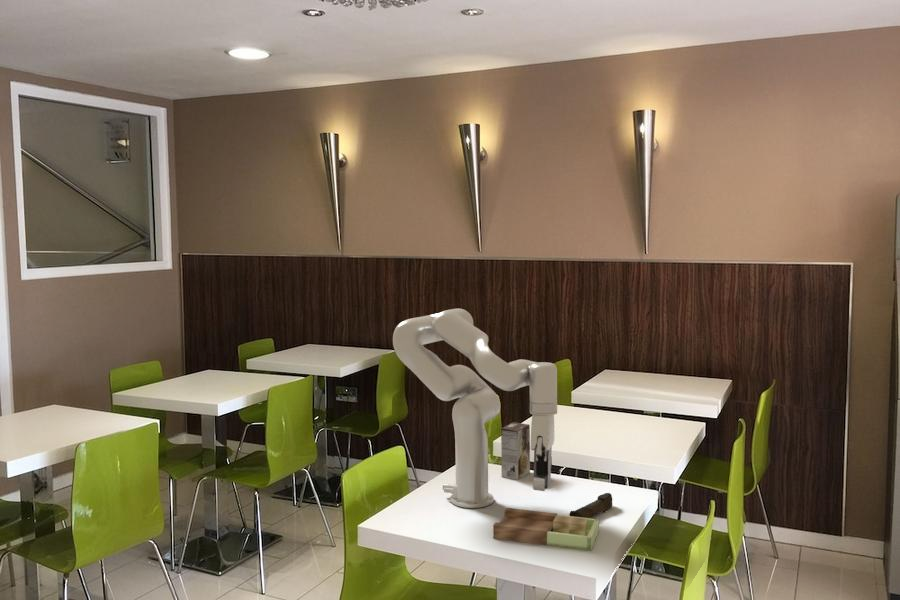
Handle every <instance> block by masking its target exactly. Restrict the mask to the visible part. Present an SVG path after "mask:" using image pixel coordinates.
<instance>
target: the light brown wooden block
mask: <svg viewBox="0 0 900 600" xmlns="http://www.w3.org/2000/svg"><path fill="white" fill-rule="evenodd" d="M569 534H575V535H583V536H587V519H582V518H574V517H572V518H571V520H570V522H569Z"/></svg>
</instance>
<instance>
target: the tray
mask: <svg viewBox="0 0 900 600" xmlns="http://www.w3.org/2000/svg"><path fill="white" fill-rule="evenodd" d="M557 516H565V517H573V516H569V515H565V514H563V515H562V514H557ZM574 518H582V517H574ZM582 519H587V536H583V535H575V534H567V533H559V532H550V531H548V532H547V545H546V546H552V547H559V548H560V547H561V548H565V549H566V548H567V549H569V548H570V549H574V550H582V551H583V550H584V551H592V549H593V546H594V544H595V542H596V540H595V539H597V537H598V535H599V532H600V519H597V518H592V517H591V518H582ZM597 534H598V535H597Z"/></svg>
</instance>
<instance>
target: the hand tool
mask: <svg viewBox="0 0 900 600" xmlns="http://www.w3.org/2000/svg"><path fill="white" fill-rule="evenodd" d="M612 506H613V496H612V493H610V492H605V493H603V494H600V495H598V496H597V499H596V500H594V501H592V502H590V503H588V504H586V505H584V506H582V507H580V508H577V509H576V510H570V512H569V514H568V516H573V517H582V518H591V519H592V518H593V517H595V516H597V515H598V514H600V513H607V512H609V510H610V509H611V508H612ZM606 511H607V512H606Z"/></svg>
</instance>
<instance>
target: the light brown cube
mask: <svg viewBox="0 0 900 600" xmlns="http://www.w3.org/2000/svg"><path fill="white" fill-rule="evenodd" d="M565 516H566V515H565ZM565 516H556V517H555V519H554V521H553V532H559V533H567V534H569V522H570V520H571V518H572V517H565Z"/></svg>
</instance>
